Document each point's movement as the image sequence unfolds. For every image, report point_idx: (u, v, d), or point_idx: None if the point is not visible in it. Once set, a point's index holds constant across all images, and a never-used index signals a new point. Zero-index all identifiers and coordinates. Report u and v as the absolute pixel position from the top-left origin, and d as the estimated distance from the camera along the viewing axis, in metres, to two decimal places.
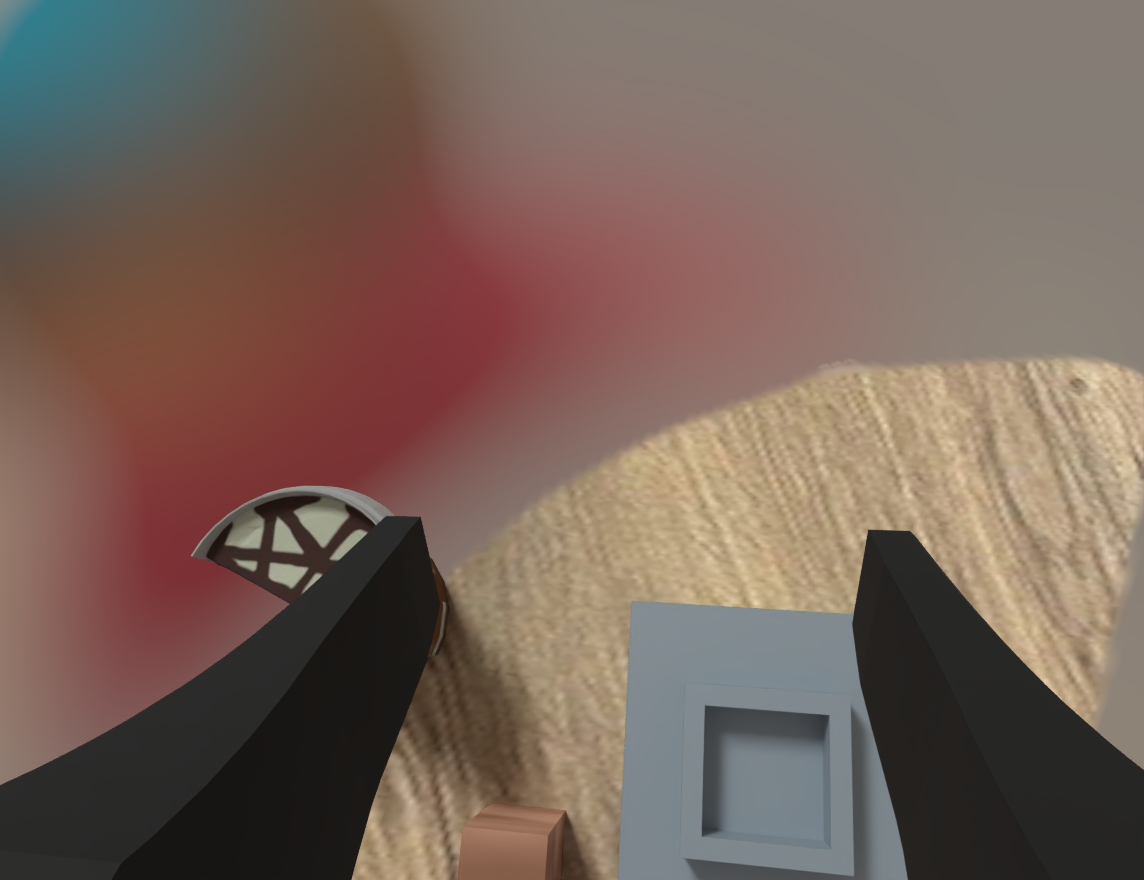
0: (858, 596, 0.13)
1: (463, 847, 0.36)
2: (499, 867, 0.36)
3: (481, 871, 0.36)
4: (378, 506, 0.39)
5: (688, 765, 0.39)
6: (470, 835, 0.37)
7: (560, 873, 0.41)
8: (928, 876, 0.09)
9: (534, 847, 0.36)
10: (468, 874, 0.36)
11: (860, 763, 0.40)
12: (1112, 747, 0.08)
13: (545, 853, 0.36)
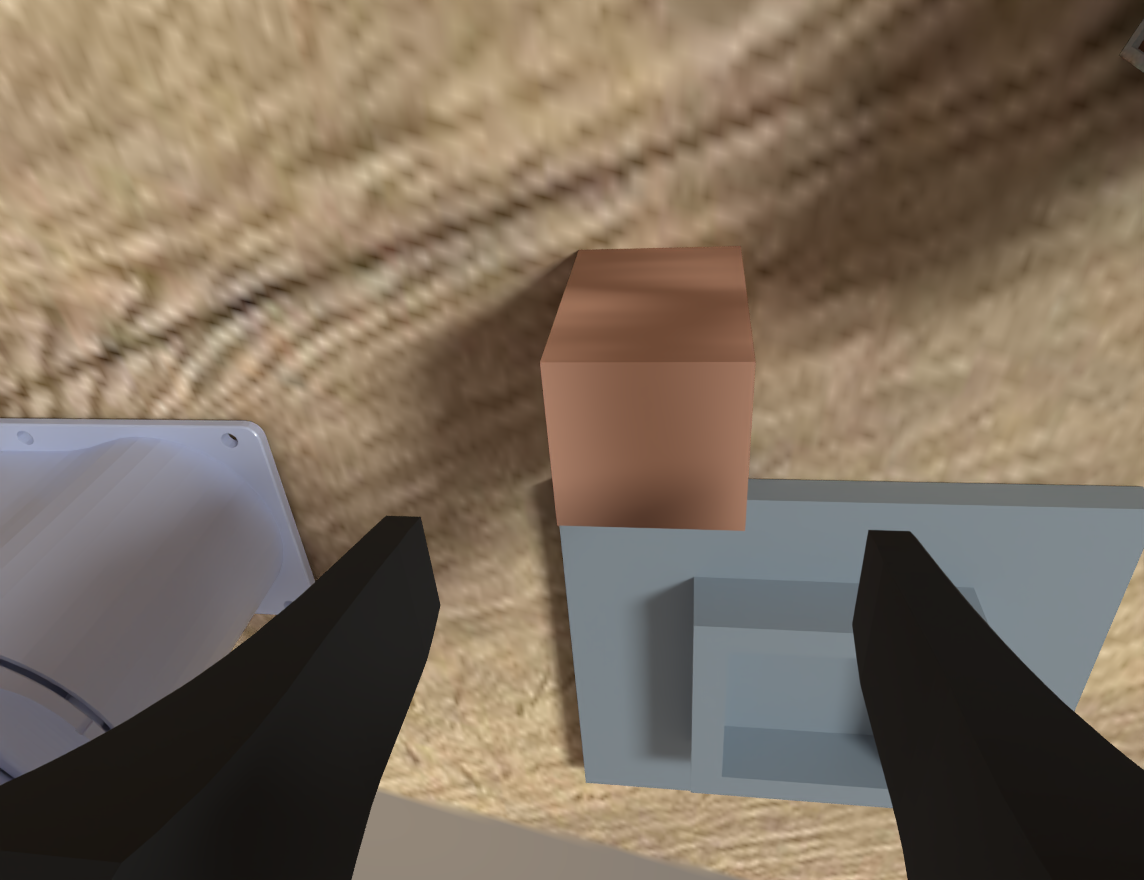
0: (858, 596, 0.13)
1: (707, 369, 0.15)
2: (671, 447, 0.16)
3: (659, 411, 0.15)
4: None
5: (844, 640, 0.22)
6: (735, 381, 0.15)
7: None
8: (928, 876, 0.09)
9: (719, 508, 0.16)
10: (648, 384, 0.15)
11: None
12: (1112, 747, 0.08)
13: (708, 528, 0.17)
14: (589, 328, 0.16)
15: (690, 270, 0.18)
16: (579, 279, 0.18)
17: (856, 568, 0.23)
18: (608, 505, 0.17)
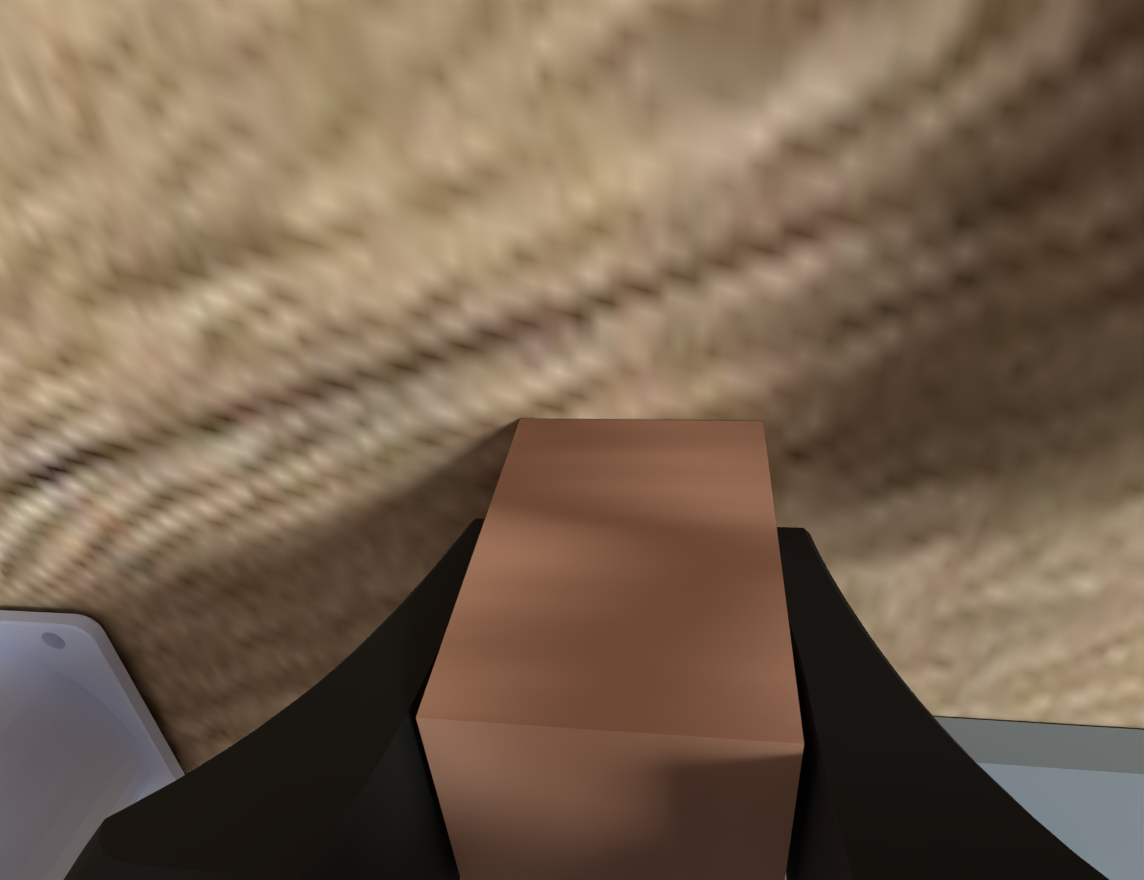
0: None
1: (714, 748, 0.08)
2: (651, 839, 0.09)
3: (628, 793, 0.09)
4: None
5: None
6: (766, 766, 0.08)
7: None
8: (795, 864, 0.10)
9: None
10: (608, 758, 0.08)
11: None
12: (947, 736, 0.08)
13: None
14: (513, 620, 0.10)
15: (686, 474, 0.12)
16: (512, 488, 0.12)
17: None
18: None
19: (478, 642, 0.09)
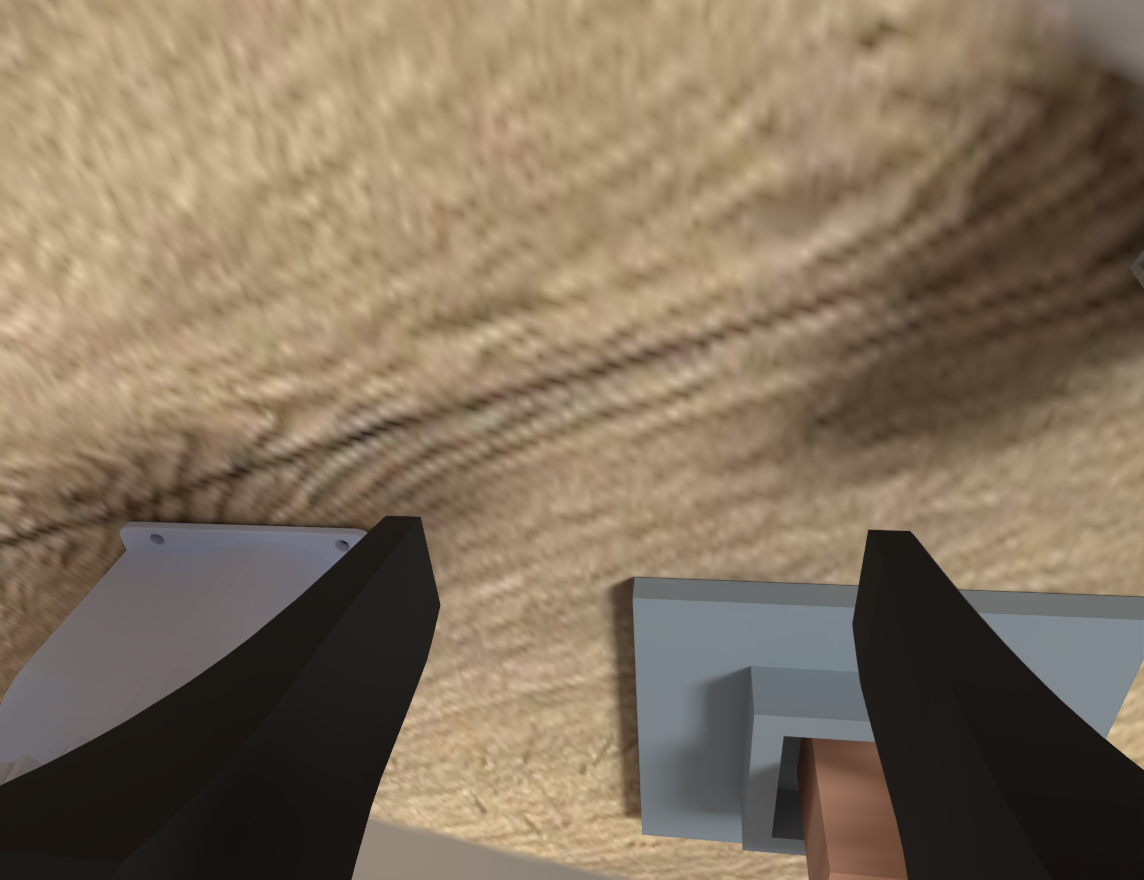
0: (858, 596, 0.13)
1: None
2: None
3: None
4: None
5: None
6: None
7: None
8: (928, 876, 0.09)
9: None
10: None
11: None
12: (1112, 747, 0.08)
13: None
14: (850, 827, 0.24)
15: None
16: (821, 751, 0.26)
17: None
18: None
19: (840, 838, 0.24)
